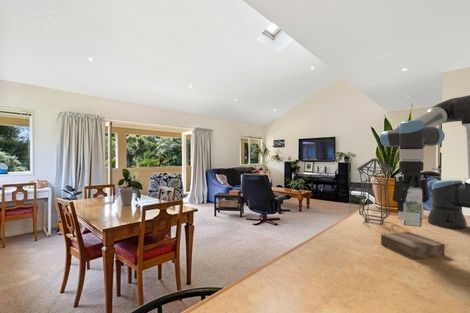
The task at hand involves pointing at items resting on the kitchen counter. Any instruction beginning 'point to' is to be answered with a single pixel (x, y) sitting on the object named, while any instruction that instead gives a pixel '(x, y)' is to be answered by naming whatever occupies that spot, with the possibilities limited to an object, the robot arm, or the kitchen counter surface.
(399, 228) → the kitchen counter surface
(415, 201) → the syrup box
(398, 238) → the walnut base
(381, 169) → the geometric lantern
